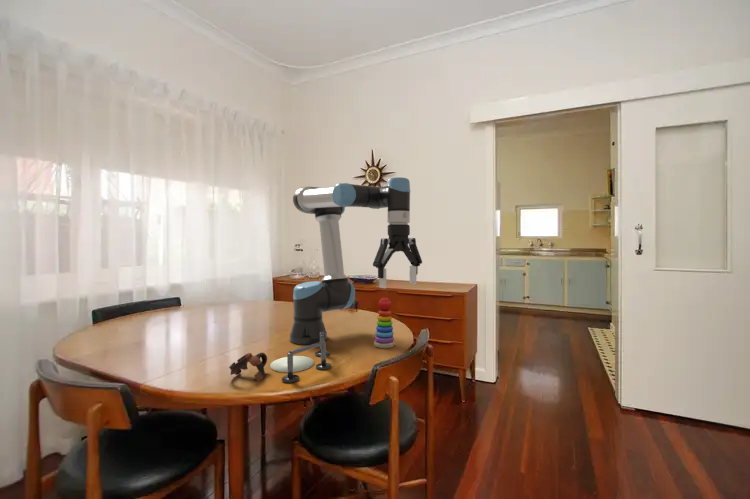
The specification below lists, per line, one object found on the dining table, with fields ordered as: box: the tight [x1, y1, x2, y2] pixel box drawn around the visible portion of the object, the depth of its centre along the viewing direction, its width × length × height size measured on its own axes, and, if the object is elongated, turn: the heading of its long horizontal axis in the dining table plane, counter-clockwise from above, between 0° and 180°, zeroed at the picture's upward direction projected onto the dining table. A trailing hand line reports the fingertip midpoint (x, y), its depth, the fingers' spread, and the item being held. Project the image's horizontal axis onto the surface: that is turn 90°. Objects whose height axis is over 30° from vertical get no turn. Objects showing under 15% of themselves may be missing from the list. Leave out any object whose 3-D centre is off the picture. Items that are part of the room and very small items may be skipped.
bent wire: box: [281, 331, 332, 384], centre depth 117 cm, size 15×26×8 cm, turn 139°
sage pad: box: [269, 355, 315, 374], centre depth 118 cm, size 14×14×1 cm
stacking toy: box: [373, 297, 396, 349], centre depth 137 cm, size 8×8×19 cm
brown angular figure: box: [228, 352, 268, 382], centre depth 109 cm, size 12×10×8 cm
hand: (398, 286), depth 122 cm, fingers open, 13 cm apart
